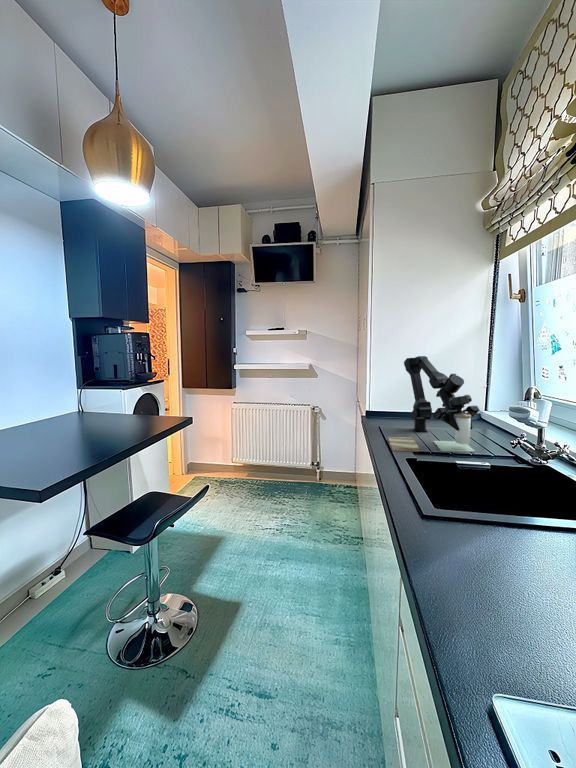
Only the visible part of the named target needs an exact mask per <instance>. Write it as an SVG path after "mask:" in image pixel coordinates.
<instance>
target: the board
mask: <svg viewBox="0 0 576 768" xmlns="http://www.w3.org/2000/svg"><path fill="white" fill-rule="evenodd" d="M387 441H389V442H388V445H389V447H390V448H391V451H392V452H413V453H414V452H415V453H418V452H419V453H420V449H421V448H420V447H419V445H418V444H417V442H416V440H415V439H414V438H413V437H410V436H409V437H407V436H405V437H404V436H401V437H400V436H387Z"/></svg>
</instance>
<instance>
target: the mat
mask: <svg viewBox="0 0 576 768" xmlns="http://www.w3.org/2000/svg"><path fill="white" fill-rule="evenodd" d="M432 442H433V443H434V445H435V446H436V445H437V446H436V447H437V448H438V450H439V451H441V452H452V453H453V452H454V453H455V452H458V453H476V450H475V449H474V448H472V447H471V446H470V445H469V444H459V443H456V442H455V440H451V441H450V440H433V441H432Z"/></svg>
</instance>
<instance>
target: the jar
mask: <svg viewBox="0 0 576 768" xmlns="http://www.w3.org/2000/svg"><path fill="white" fill-rule="evenodd" d="M471 420H472V418H471V414H467V413H456V415H455V421H456V423H457V425H458V427H459V431H457V430H456V429H454V441H455V442H456V443H459V444H468V445H469V444H471V430H470V428H471Z"/></svg>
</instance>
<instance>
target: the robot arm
mask: <svg viewBox="0 0 576 768" xmlns="http://www.w3.org/2000/svg"><path fill="white" fill-rule="evenodd" d="M403 365H404V369H405V371H406V372H407V373H408V374H409V375H410V381H411V385H412V390H413V391H412V392H413V396H414V400H415V401H414V403H413V405H412V407H413V410H412V411H411V413H410V414H409V416H410V417H409V418H410V419H411V420H413V423H414V424H413V427H412V428H413V429H412V430H413V432H415V431H419V432H418V433H428V432H429V430H428V429H427V420H431V417H433V419H434V420H435V421H439V420H440V421H441V422H444V423H446V424H447V425H449V426H450V427H452V428H453V429H454V430H455V429H456V430H457V431H459V427H458V425H457V423H456V418H455V416H456V413H467V414H471V428H470V431H471V430H473V422H472V421H473V420H472V418H474V417H475V416H476V415H477V414H479V412H480V411H481V410H480V408H479V406H478V405H469V404H470V403H471V402H472V397H471V395H470V394H465V395H462V396H461V395H459V396H456V395H455V394H456V393H458V392H459V390H460V389H461V388H462V386H463V385H464V384H465V380H464V378H462V377H461V376H459V375H457V373H450V375H448V376H449V377H448V376H447V375H446V374H445V373H443V372H440V371H439V370H437V369H436V367H435V366H434V365H433V364H432V362H431V361H430V360H429V359H428V357H427V356H426V355H418V356H416V357H407V358H406V359H405V360H404V361H403ZM421 371H423V373H424V374H426V376H427V377H428V379H429V380H428V382H429V384H430V386H431V388H432V389H435V390H436V389H437V392H436V395H435V396H436V398H440V400H441V401H442V404H441V406H442V407H437V409H436V410H435V411H433V408H432V405H431V404H432V403H431V401H428V400H427V399H426V397H425V392H424V386H423V381H422V376H421ZM465 405H468V406H467V407H466V408H465ZM432 414H433V415H432Z"/></svg>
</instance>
